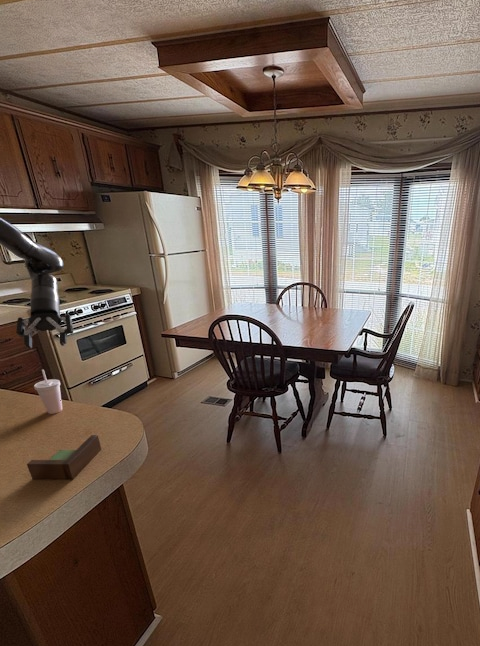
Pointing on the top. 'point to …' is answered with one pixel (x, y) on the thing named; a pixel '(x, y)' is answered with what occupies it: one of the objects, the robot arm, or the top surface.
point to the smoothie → (50, 394)
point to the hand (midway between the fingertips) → (46, 345)
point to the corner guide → (65, 462)
